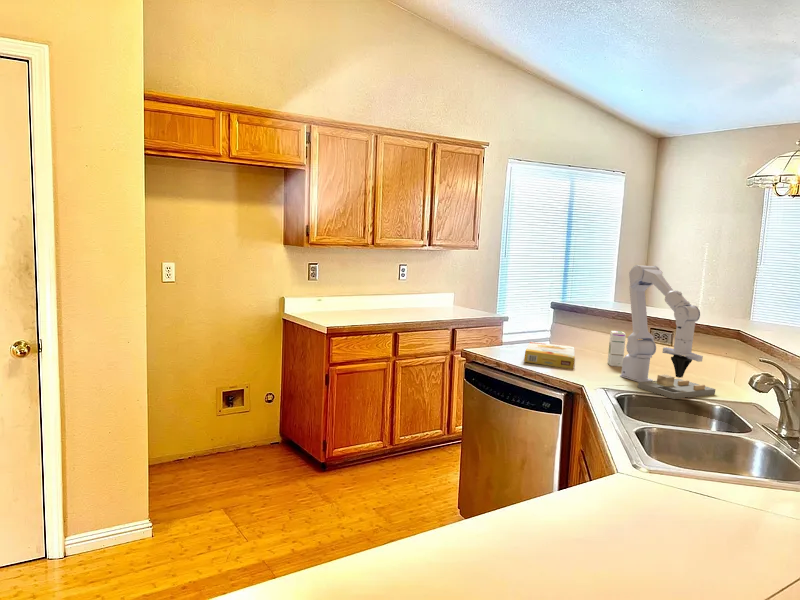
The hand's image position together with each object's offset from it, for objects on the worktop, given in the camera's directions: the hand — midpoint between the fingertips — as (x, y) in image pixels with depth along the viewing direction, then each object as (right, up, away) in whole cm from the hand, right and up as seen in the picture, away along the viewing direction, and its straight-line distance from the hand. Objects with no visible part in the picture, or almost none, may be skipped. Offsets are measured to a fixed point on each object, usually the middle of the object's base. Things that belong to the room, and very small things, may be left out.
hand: (679, 377), depth 209 cm
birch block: (-3, -3, +5) cm, 7 cm away
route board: (+1, -6, +4) cm, 7 cm away
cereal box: (-34, +1, +46) cm, 57 cm away
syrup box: (-7, -1, +44) cm, 44 cm away
